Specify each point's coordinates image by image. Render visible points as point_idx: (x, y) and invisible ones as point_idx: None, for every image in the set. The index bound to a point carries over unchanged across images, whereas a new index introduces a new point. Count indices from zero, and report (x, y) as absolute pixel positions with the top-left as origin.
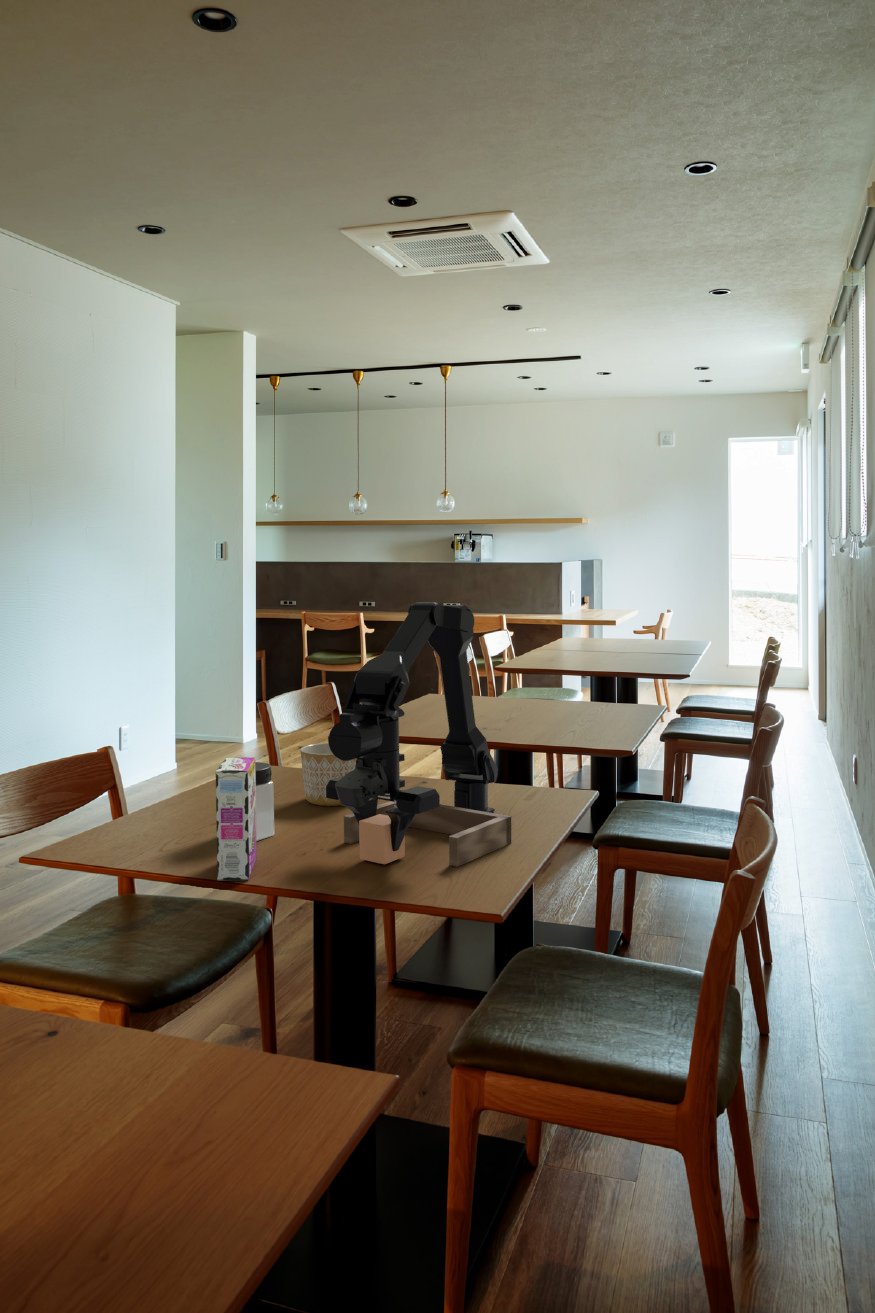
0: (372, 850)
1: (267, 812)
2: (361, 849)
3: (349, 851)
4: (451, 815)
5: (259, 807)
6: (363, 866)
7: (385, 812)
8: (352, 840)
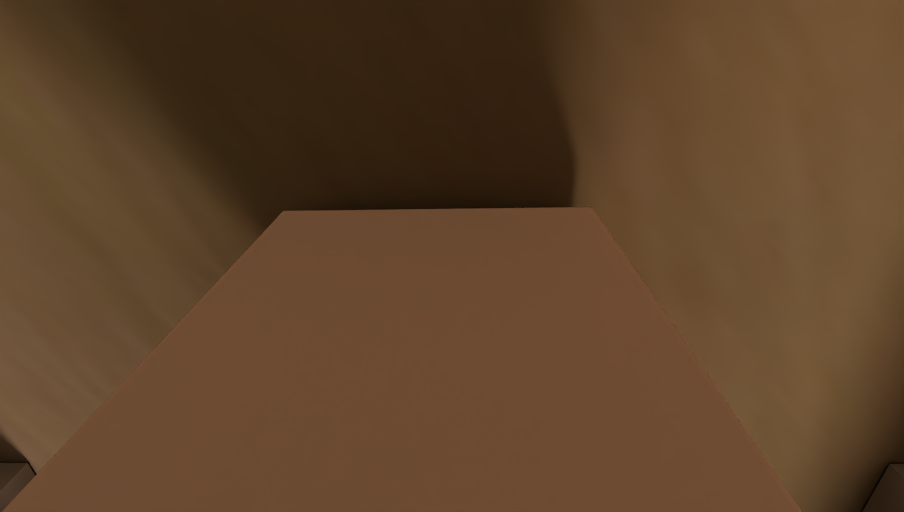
0: (416, 257)
1: None
2: (591, 251)
3: (822, 350)
4: None
5: None
6: (467, 113)
7: None
8: (901, 496)
